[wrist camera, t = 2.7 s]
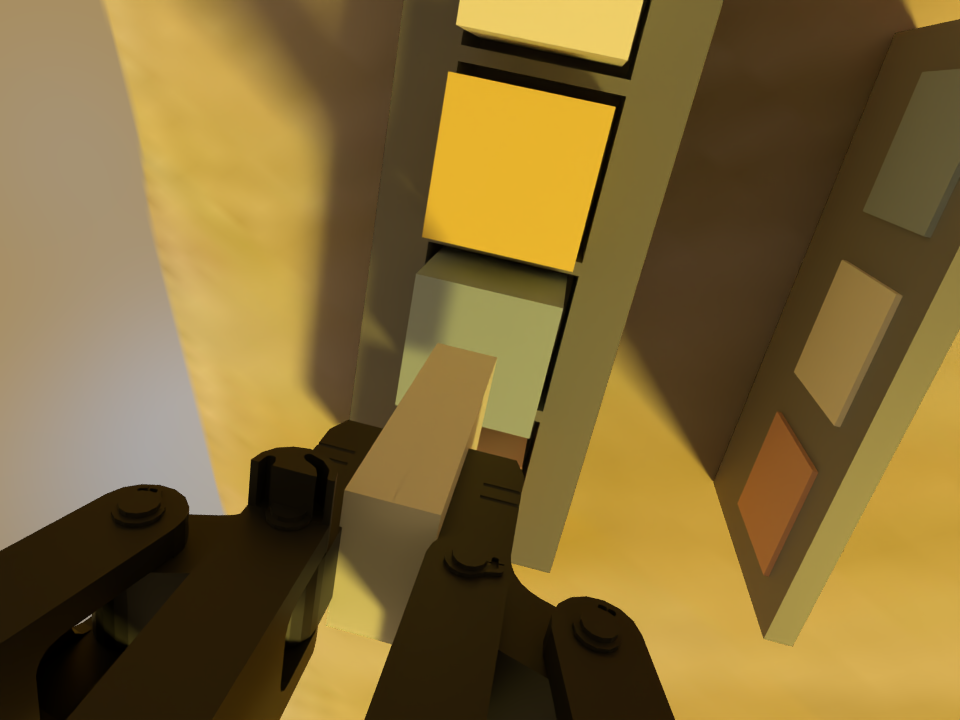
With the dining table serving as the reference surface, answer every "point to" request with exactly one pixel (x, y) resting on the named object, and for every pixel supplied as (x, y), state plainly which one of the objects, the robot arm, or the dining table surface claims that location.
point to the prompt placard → (852, 337)
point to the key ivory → (557, 26)
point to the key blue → (488, 327)
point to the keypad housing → (590, 287)
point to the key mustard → (515, 170)
